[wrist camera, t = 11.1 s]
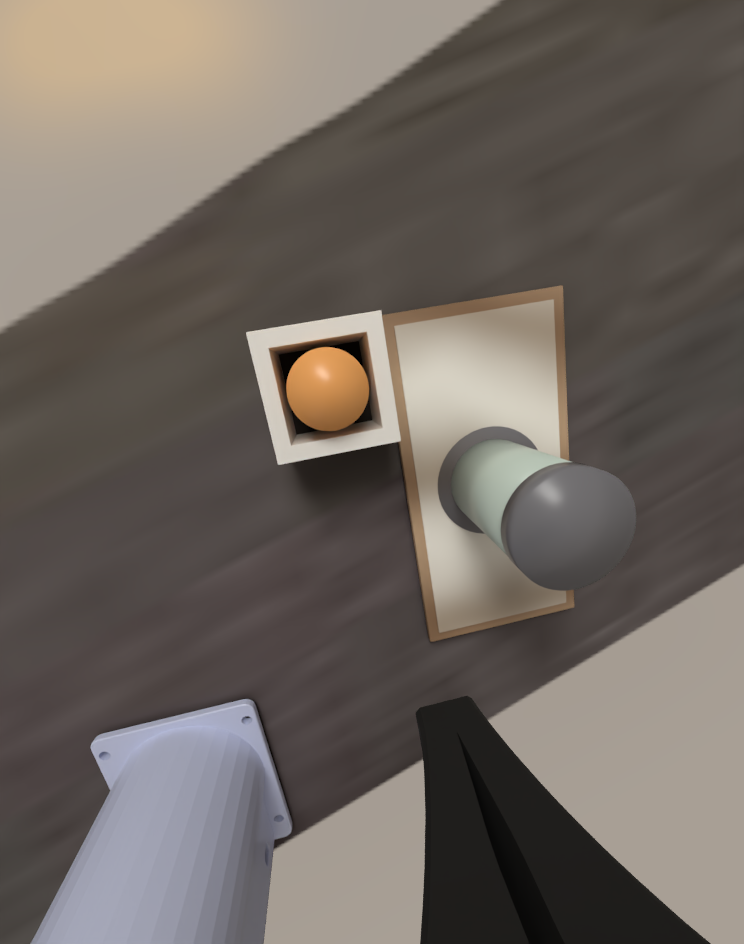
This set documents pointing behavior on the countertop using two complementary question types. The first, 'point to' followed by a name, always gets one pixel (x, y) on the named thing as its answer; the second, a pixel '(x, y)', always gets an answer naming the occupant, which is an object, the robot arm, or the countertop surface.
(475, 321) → the sketch pad
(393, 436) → the button box
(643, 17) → the countertop surface
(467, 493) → the ink stamp
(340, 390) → the button
